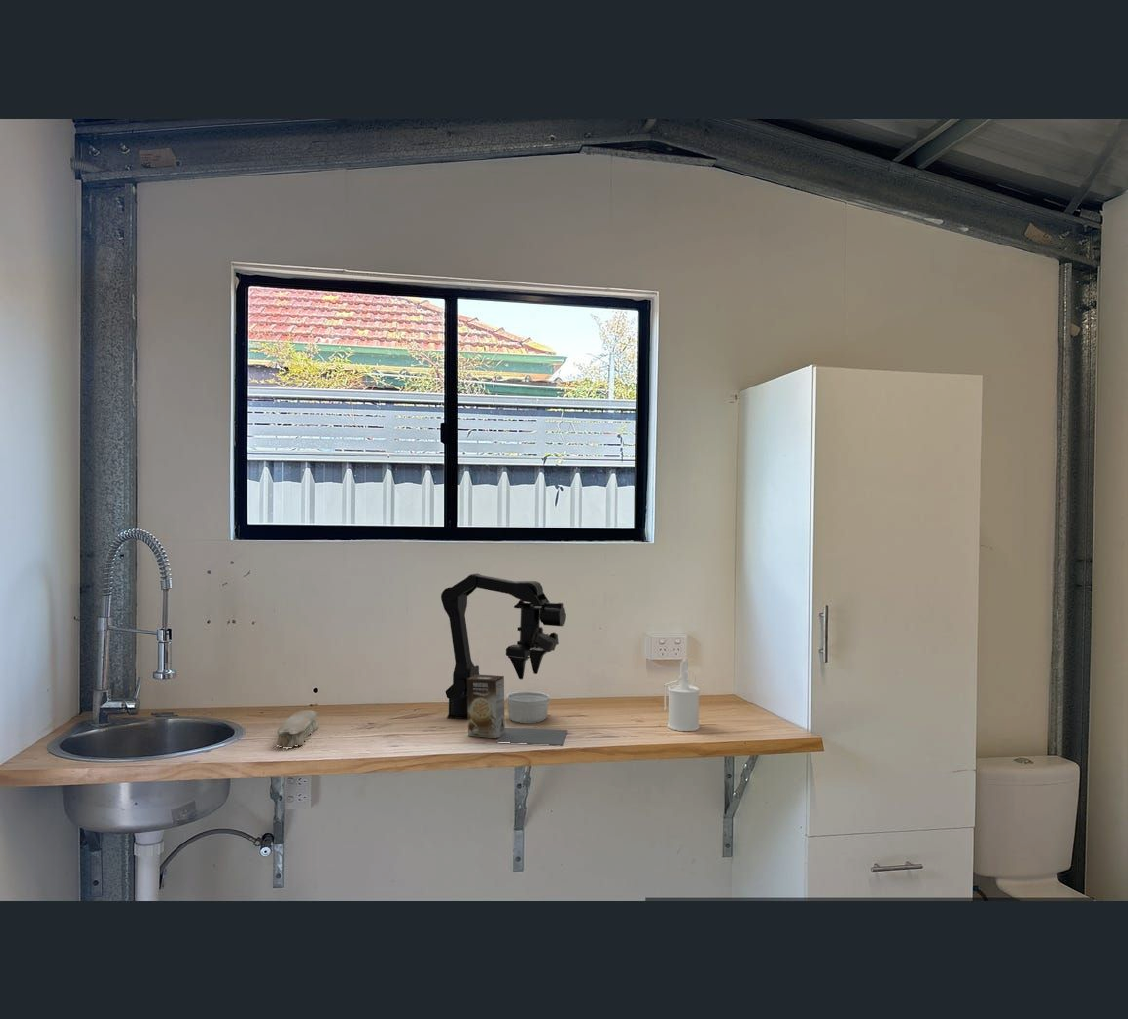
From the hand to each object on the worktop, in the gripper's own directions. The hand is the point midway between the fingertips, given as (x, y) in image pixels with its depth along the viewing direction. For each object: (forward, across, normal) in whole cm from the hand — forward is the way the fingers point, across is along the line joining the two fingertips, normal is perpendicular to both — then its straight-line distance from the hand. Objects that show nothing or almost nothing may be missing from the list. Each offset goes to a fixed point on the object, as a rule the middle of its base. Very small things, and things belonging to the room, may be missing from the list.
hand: (528, 676), depth 231 cm
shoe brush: (+15, -41, +50) cm, 66 cm away
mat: (+14, -12, -8) cm, 20 cm away
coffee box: (+14, -17, +4) cm, 22 cm away
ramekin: (+14, +4, +2) cm, 15 cm away
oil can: (+13, +17, -42) cm, 48 cm away
